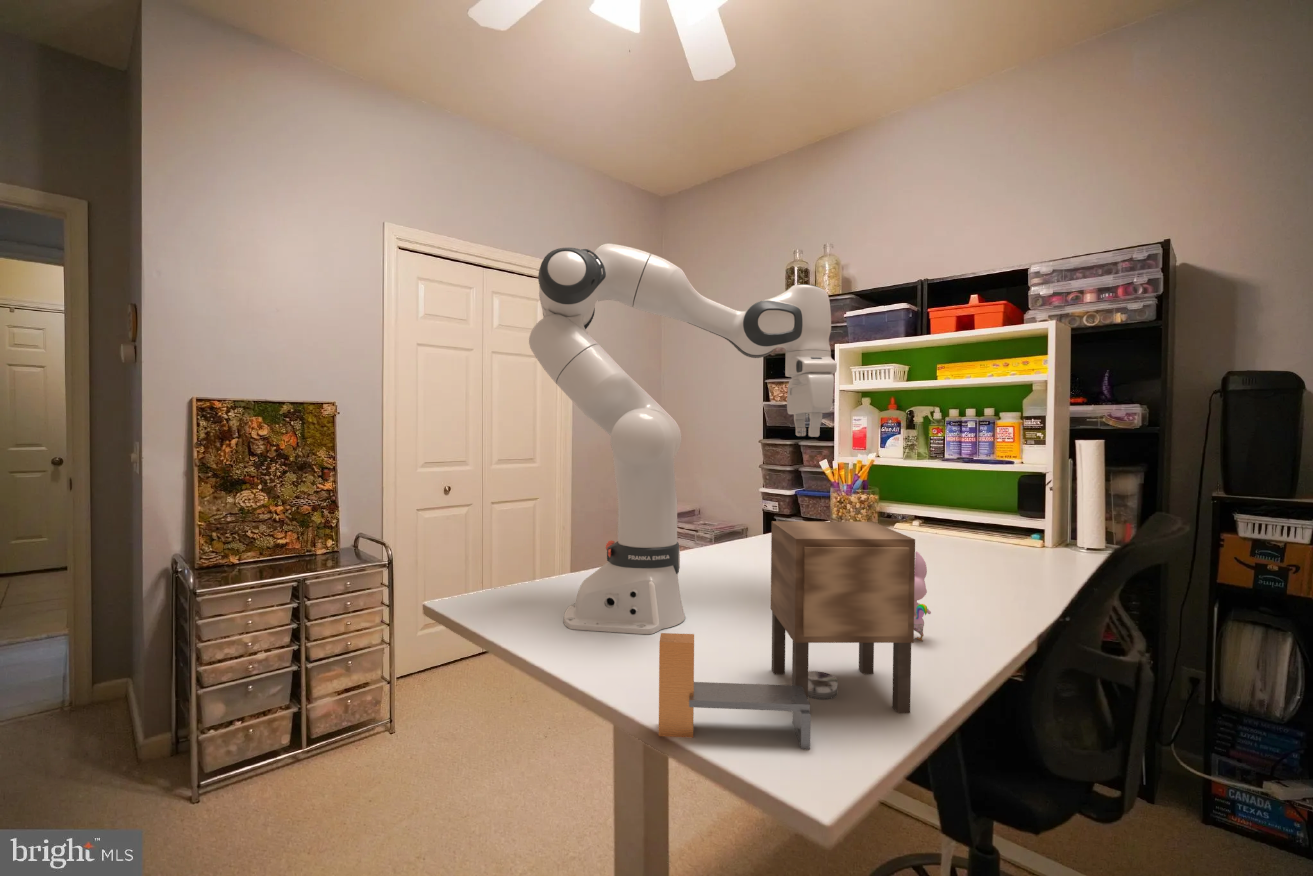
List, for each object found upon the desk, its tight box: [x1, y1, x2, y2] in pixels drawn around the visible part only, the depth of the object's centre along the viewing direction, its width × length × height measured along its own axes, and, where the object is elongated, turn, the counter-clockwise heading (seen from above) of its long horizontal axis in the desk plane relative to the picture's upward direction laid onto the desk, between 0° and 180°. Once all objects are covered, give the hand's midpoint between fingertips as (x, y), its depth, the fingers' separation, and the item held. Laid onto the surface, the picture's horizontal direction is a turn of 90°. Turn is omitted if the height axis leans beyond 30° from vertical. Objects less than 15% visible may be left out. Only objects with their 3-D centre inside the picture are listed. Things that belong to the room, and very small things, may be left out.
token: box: [808, 670, 839, 701], centre depth 82 cm, size 5×5×2 cm
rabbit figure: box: [914, 551, 932, 642], centre depth 101 cm, size 6×6×15 cm
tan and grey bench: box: [658, 632, 812, 751], centre depth 71 cm, size 17×6×11 cm, turn 86°
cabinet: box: [770, 520, 916, 714], centre depth 82 cm, size 15×15×22 cm
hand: (807, 436), depth 121 cm, fingers open, 8 cm apart
